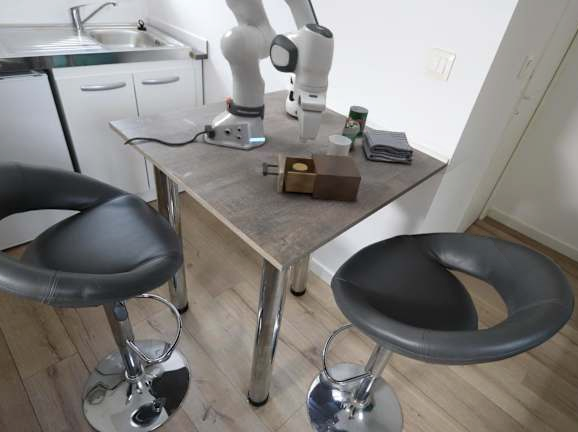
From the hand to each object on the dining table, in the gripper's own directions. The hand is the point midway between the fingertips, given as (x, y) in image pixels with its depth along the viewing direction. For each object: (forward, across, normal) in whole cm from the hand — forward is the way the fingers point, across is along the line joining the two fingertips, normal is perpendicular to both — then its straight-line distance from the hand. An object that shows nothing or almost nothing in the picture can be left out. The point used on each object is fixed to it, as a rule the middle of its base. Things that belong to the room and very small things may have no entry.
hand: (302, 141), depth 102 cm
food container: (+15, -32, +23) cm, 42 cm away
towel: (+15, -29, +38) cm, 50 cm away
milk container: (+15, -64, +8) cm, 66 cm away
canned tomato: (+15, -48, +29) cm, 58 cm away
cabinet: (+15, 0, +11) cm, 19 cm away
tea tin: (+13, 0, 0) cm, 13 cm away
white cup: (+15, -16, +15) cm, 27 cm away
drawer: (+14, 0, -2) cm, 14 cm away
